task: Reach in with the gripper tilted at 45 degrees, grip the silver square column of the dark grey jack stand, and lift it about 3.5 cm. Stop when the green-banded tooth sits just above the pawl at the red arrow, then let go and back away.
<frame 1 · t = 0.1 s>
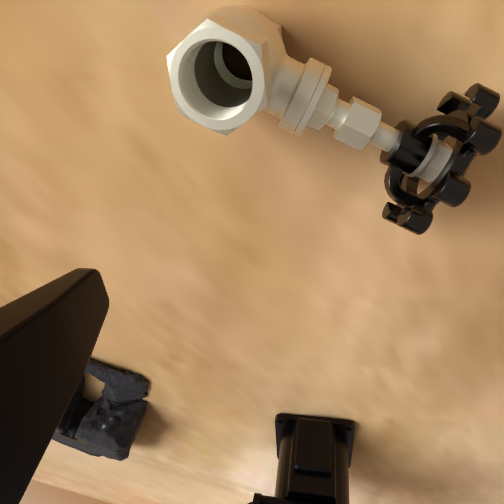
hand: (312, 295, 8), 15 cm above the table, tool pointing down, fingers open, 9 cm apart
dark slate chunk: (36, 375, 39), on the table
valve: (322, 87, 20), on the table
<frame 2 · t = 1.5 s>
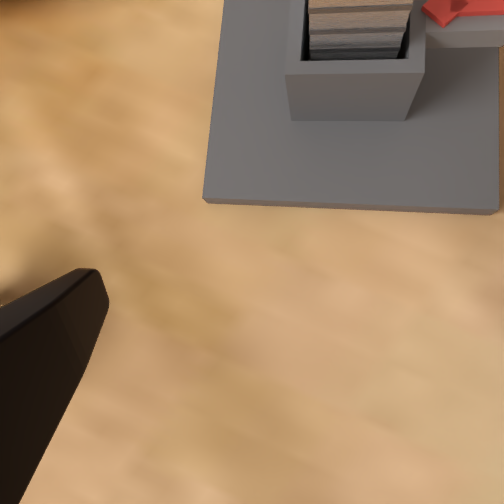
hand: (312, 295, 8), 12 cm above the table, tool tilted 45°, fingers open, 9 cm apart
jack stand base: (347, 81, 22), on the table
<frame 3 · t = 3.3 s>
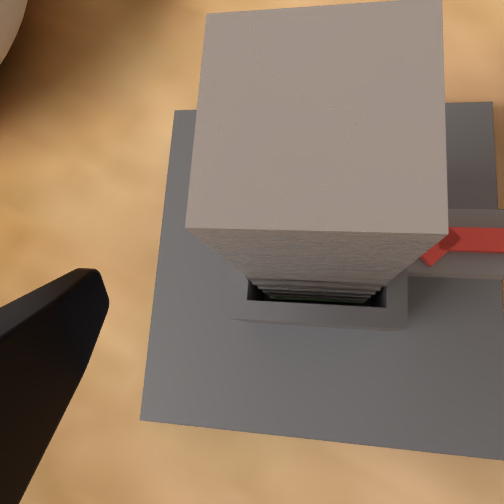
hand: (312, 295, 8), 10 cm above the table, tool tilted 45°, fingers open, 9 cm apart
jack stand base: (317, 263, 18), on the table
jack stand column: (316, 220, 11), point 7 cm above the table, slide at 0.0 cm
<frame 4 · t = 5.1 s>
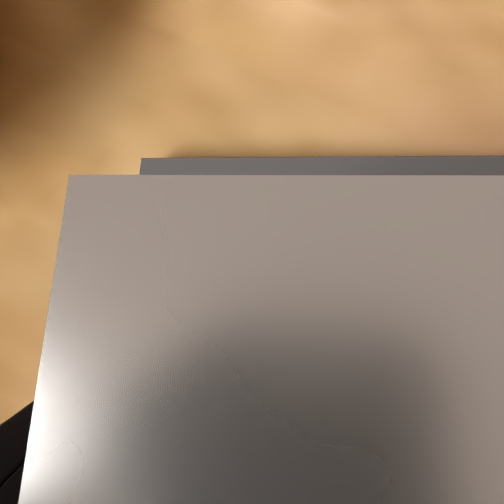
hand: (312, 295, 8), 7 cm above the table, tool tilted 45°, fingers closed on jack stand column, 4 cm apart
jack stand base: (314, 351, 15), on the table
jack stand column: (309, 367, 8), point 7 cm above the table, slide at 0.0 cm, touching gripper
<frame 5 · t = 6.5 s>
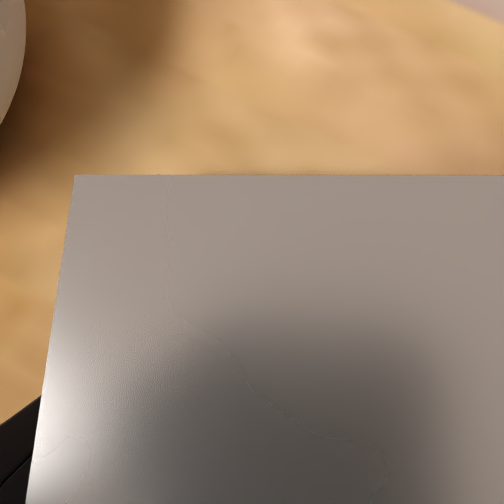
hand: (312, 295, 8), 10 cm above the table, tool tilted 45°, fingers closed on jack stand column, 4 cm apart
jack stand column: (309, 364, 8), point 10 cm above the table, slide at 3.2 cm, touching gripper
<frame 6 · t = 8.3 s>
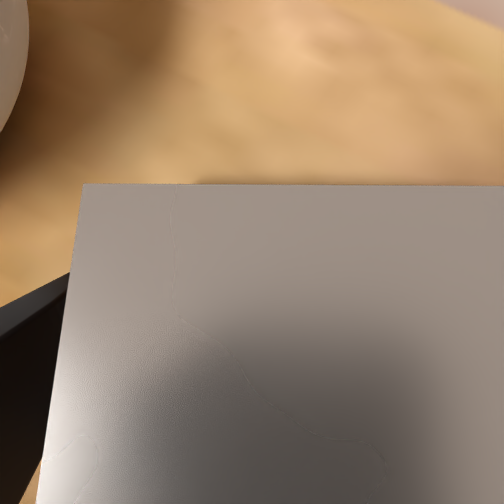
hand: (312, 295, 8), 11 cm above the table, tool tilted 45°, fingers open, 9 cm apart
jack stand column: (309, 367, 8), point 10 cm above the table, slide at 3.3 cm
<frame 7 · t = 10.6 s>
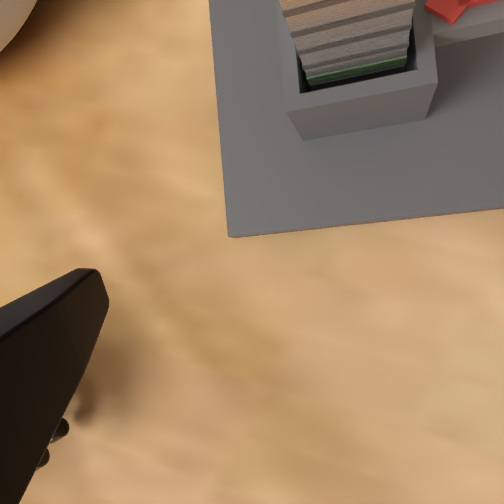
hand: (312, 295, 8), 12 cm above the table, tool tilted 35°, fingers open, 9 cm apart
jack stand base: (356, 82, 20), on the table
valve: (1, 430, 26), on the table
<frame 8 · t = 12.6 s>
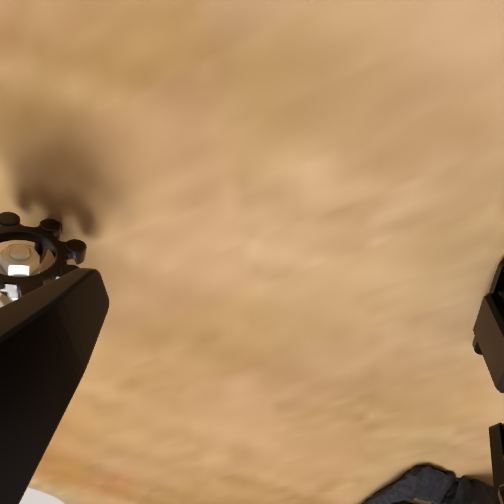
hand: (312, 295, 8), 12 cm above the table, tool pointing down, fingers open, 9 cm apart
valve: (50, 287, 27), on the table
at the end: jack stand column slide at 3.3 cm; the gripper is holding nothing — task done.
